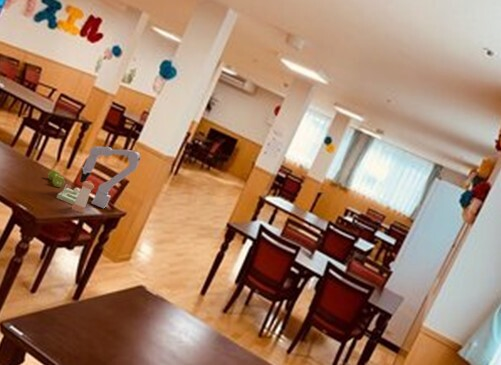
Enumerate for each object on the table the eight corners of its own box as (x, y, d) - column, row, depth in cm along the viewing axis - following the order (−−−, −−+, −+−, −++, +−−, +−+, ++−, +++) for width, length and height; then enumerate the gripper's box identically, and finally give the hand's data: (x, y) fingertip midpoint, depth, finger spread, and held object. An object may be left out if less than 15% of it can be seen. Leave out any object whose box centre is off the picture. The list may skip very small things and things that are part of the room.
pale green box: (85, 199, 341) (92, 186, 341) (78, 206, 318) (84, 192, 317) (65, 191, 339) (71, 177, 338) (56, 197, 316) (62, 182, 315)
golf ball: (78, 194, 336) (81, 188, 336) (77, 195, 333) (80, 189, 332) (73, 191, 336) (75, 186, 335) (71, 192, 332) (74, 187, 331)
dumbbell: (62, 189, 341) (67, 179, 341) (51, 185, 336) (55, 175, 336) (56, 180, 354) (61, 171, 354) (45, 177, 349) (49, 167, 349)
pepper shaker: (70, 209, 307) (83, 180, 305) (71, 206, 313) (84, 177, 312) (82, 213, 309) (95, 184, 307) (83, 210, 316) (96, 182, 314)
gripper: (86, 159, 346) (78, 178, 347) (82, 162, 332) (73, 181, 333) (96, 164, 347) (88, 182, 349) (92, 166, 333) (84, 185, 334)
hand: (82, 182), depth 341 cm, fingers closed
